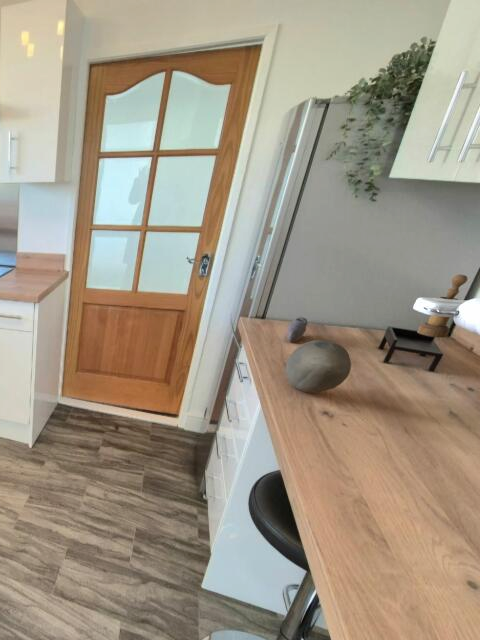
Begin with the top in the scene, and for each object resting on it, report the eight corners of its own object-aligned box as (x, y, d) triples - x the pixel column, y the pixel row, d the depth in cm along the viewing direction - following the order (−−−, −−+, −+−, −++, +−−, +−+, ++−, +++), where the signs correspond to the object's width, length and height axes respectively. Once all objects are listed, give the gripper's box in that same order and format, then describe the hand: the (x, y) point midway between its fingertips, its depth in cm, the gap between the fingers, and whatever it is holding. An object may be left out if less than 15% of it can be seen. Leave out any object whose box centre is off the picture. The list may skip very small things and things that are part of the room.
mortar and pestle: (418, 329, 134) (447, 271, 126) (447, 334, 130) (479, 275, 122) (415, 333, 130) (444, 274, 122) (444, 339, 126) (477, 278, 118)
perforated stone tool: (296, 346, 153) (303, 327, 150) (279, 342, 156) (285, 324, 153) (305, 335, 162) (311, 318, 159) (288, 332, 165) (294, 315, 162)
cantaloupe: (267, 386, 124) (284, 338, 118) (294, 377, 130) (313, 330, 123) (321, 408, 113) (343, 356, 106) (348, 396, 119) (371, 347, 112)
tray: (424, 355, 145) (436, 333, 142) (433, 371, 134) (446, 348, 130) (378, 347, 152) (388, 326, 148) (383, 362, 140) (394, 339, 137)
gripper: (425, 322, 119) (398, 308, 131) (521, 330, 113) (483, 315, 125) (436, 300, 116) (407, 288, 128) (535, 306, 110) (495, 293, 122)
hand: (445, 301), depth 126 cm, fingers closed on mortar and pestle, 4 cm apart
